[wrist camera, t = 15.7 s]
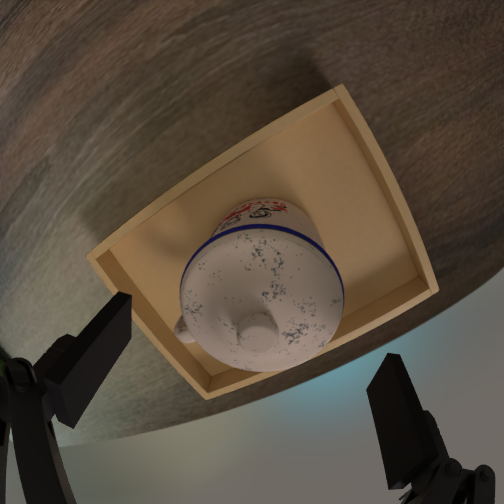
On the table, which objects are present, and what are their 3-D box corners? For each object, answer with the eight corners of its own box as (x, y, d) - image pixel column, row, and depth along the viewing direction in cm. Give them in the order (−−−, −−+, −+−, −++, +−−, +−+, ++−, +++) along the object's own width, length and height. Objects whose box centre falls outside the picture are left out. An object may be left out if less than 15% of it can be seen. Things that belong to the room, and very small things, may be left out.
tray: (334, 89, 21) (342, 82, 18) (425, 275, 25) (439, 290, 22) (101, 243, 27) (84, 256, 24) (211, 379, 31) (205, 400, 28)
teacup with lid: (282, 169, 23) (286, 201, 12) (344, 265, 25) (385, 357, 14) (161, 255, 26) (93, 334, 15) (227, 333, 28) (201, 435, 17)
